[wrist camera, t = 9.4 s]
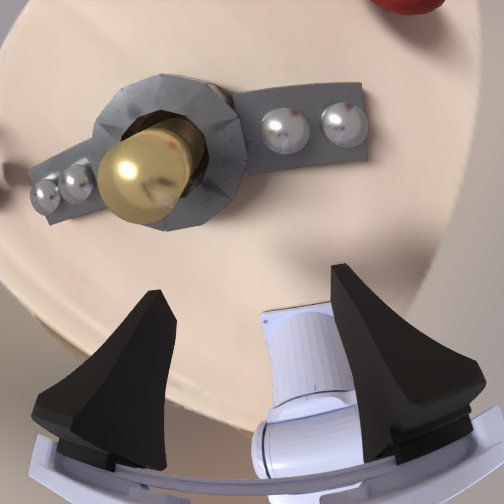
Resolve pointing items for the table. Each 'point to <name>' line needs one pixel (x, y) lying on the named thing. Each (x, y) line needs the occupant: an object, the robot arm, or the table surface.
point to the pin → (150, 170)
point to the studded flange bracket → (210, 142)
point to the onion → (409, 6)
